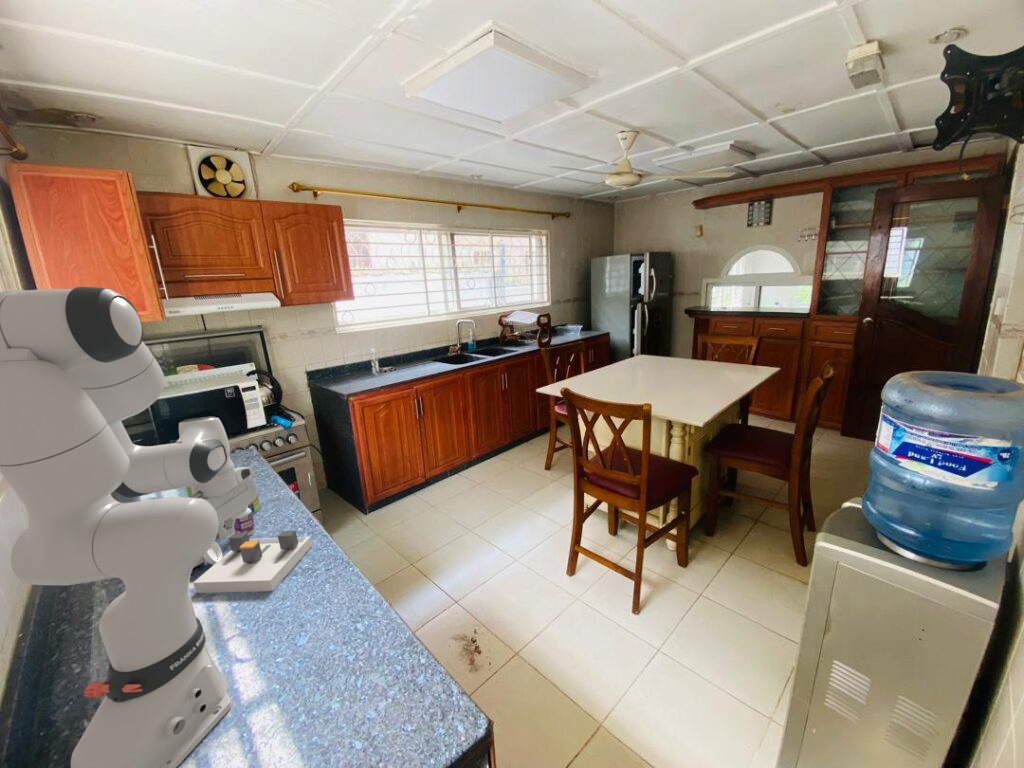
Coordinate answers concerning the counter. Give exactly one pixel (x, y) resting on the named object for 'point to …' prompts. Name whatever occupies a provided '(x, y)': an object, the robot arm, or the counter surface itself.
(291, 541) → the block
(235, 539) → the left breaker
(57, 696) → the counter surface
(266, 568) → the box
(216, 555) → the spread jar
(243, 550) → the breaker
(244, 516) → the pill bottle
